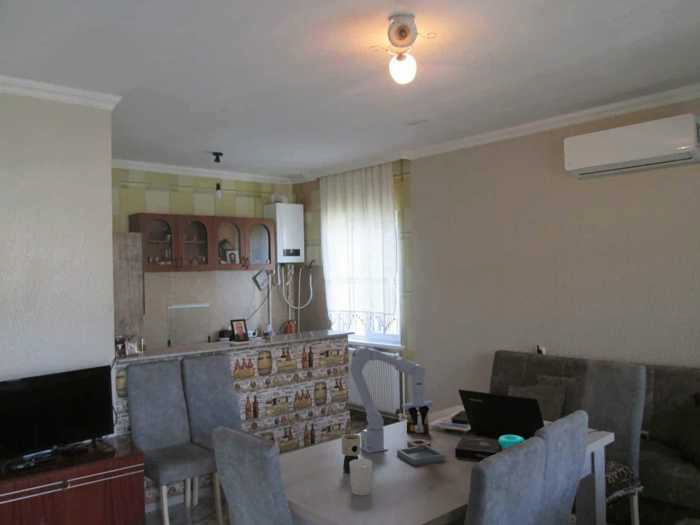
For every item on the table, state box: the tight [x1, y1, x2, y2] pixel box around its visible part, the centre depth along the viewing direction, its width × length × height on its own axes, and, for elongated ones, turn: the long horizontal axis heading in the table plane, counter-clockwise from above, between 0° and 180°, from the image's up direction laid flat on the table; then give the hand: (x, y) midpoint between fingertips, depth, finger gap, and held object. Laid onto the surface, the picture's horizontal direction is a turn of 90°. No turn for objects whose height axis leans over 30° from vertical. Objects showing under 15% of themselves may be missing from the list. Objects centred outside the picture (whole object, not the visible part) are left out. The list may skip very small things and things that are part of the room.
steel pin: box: [415, 412, 422, 433], centre depth 239 cm, size 3×3×8 cm
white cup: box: [349, 458, 373, 496], centre depth 190 cm, size 8×8×10 cm
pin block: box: [406, 438, 432, 448], centre depth 239 cm, size 8×8×2 cm
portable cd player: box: [454, 437, 503, 461], centre depth 229 cm, size 16×17×4 cm
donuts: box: [498, 434, 526, 449], centre depth 216 cm, size 10×10×10 cm
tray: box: [396, 445, 446, 467], centre depth 224 cm, size 14×14×2 cm
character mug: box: [341, 434, 361, 473], centre depth 211 cm, size 11×7×13 cm, turn 145°
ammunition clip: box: [406, 408, 430, 436], centre depth 259 cm, size 11×2×12 cm, turn 62°
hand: (418, 424), depth 239 cm, fingers closed on steel pin, 3 cm apart
